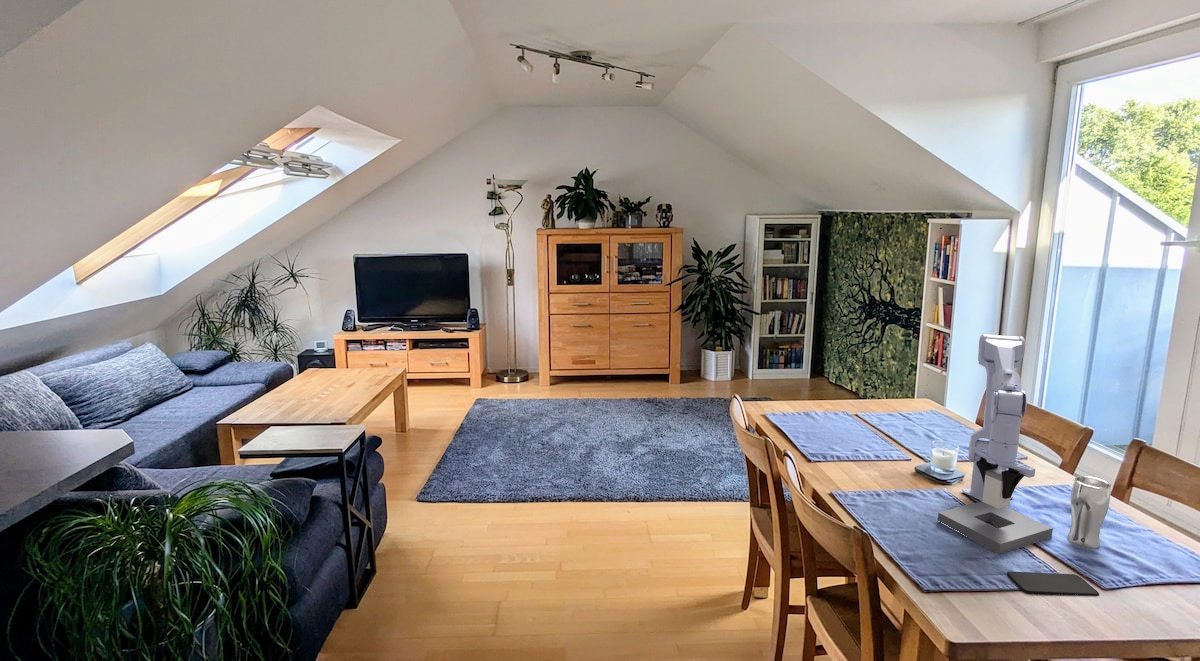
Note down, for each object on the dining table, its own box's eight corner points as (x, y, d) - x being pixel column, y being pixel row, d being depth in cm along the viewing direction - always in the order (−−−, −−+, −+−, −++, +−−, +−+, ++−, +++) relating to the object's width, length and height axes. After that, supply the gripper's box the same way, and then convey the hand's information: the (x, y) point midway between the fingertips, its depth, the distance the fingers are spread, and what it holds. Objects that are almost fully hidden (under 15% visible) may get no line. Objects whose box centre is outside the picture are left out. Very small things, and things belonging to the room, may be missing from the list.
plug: (993, 498, 151) (997, 468, 150) (1009, 505, 148) (1013, 474, 146) (982, 501, 150) (985, 470, 148) (998, 508, 146) (1001, 477, 145)
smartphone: (1102, 594, 124) (1025, 591, 125) (1101, 598, 124) (1024, 595, 125) (1076, 573, 131) (1004, 570, 132) (1076, 577, 131) (1003, 574, 132)
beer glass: (1095, 536, 146) (1104, 477, 143) (1107, 551, 140) (1117, 490, 137) (1060, 532, 149) (1068, 473, 146) (1071, 546, 142) (1080, 486, 139)
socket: (987, 508, 161) (988, 499, 160) (1051, 537, 146) (1052, 528, 146) (937, 521, 154) (938, 512, 154) (999, 554, 139) (1000, 544, 139)
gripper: (963, 432, 151) (958, 484, 153) (1023, 453, 137) (1015, 510, 140) (984, 428, 153) (978, 479, 156) (1044, 449, 140) (1036, 504, 143)
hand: (997, 493), depth 148 cm, fingers closed on plug, 4 cm apart
